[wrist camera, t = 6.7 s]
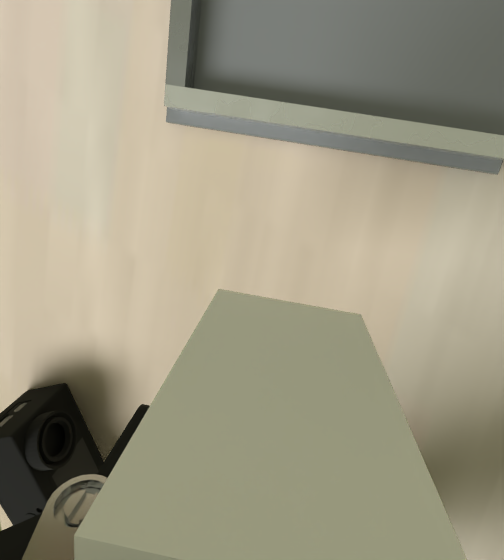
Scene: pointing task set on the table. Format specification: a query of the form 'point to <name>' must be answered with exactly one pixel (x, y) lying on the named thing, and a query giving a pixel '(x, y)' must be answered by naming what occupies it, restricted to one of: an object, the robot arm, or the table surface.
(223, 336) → the block
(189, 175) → the table surface
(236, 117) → the rail guides
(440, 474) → the table surface
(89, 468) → the digital camera
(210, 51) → the plate
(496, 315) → the table surface
